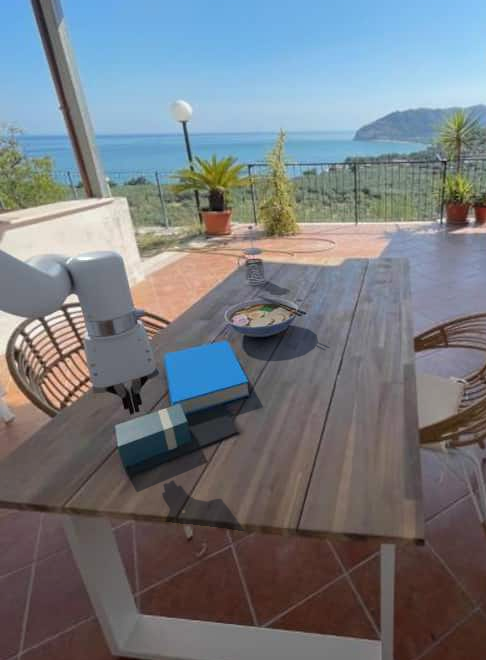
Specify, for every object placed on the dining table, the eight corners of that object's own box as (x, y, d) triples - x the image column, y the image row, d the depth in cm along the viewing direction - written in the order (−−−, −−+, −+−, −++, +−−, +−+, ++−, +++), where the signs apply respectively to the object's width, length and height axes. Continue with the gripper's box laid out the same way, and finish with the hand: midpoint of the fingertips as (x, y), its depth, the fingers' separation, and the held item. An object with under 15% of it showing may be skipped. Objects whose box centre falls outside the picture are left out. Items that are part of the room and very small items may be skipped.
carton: (117, 446, 71) (187, 421, 77) (114, 425, 76) (180, 403, 83) (123, 468, 72) (191, 441, 79) (120, 445, 78) (183, 422, 84)
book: (226, 339, 113) (249, 379, 92) (228, 353, 114) (251, 394, 94) (161, 354, 105) (170, 401, 84) (164, 368, 106) (173, 418, 86)
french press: (266, 284, 169) (261, 227, 161) (239, 286, 167) (232, 228, 159) (267, 277, 178) (262, 223, 170) (241, 279, 176) (235, 224, 168)
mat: (130, 476, 71) (130, 474, 71) (124, 438, 80) (123, 436, 80) (238, 432, 82) (238, 431, 82) (221, 403, 91) (221, 402, 91)
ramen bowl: (212, 331, 126) (208, 308, 124) (271, 311, 142) (269, 290, 139) (253, 358, 110) (250, 333, 107) (315, 332, 126) (314, 309, 123)
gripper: (155, 305, 74) (172, 386, 81) (59, 325, 67) (86, 413, 73) (162, 319, 69) (180, 405, 75) (58, 342, 61) (87, 436, 67)
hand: (134, 409), depth 74 cm, fingers closed
